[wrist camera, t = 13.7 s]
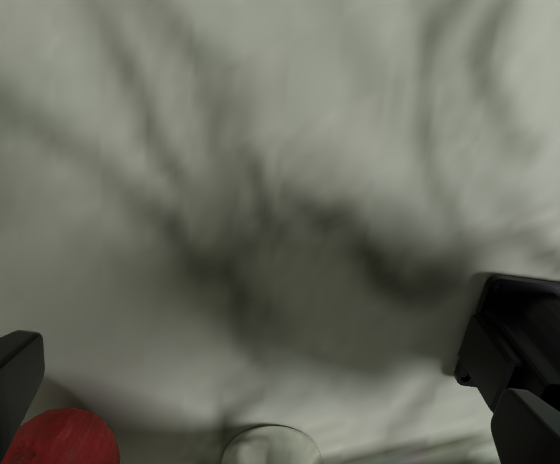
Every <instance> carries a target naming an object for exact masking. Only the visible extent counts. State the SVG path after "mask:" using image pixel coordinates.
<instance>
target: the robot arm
mask: <svg viewBox="0 0 560 464" xmlns="http://www.w3.org/2000/svg"><path fill="white" fill-rule="evenodd" d="M498 283H501V285H500V286H499V287H498V288H494V286H495V285H496V284H498ZM458 355H459V360H458V363H457V366H456V369H455V371H454V376H455V379H456V381H457V382H458V383H459V384H460V385H463V386H470V387H477V388H478V390H479V392H480V393H481V395H482V397H483V398H484V400H485V402H486V404H487V405H488V407H489V408H490V410H491V411H492V412H493V413H494V414H493V417H492V420H491V432H492V436H493V439H494V442H495V446H496V449H497V452H498V456H499V459H500V462H501V464H560V283H556V282H549V281H541V280H533V279H526V278H518V277H511V276H503V275H494V276H491V277H490V278H489V279H488V280H487V281H486V283H485V286H484V289H483V292H482V295H481V298H480V301H479V303H478V306H477V309H476V312H475V313H474V314H473V315H472V316H471V319H470V322H469V325H468V327H467V330H466V333H465V336H464V339H463V342H462V345H461V347H460V350H459V353H458ZM44 371H45V363H44V347H43V338H42V335H41V334H40V333H38V332H32V331H24V330H17V331H14V332H12V333H10V334H8V335H5V336H3V337H1V338H0V464H1V462H2V460H3V459H4V457H5V455H6V453H7V451H8V449H9V447H10V445H11V443H12V441H13V439H14V437H15V435H16V433H17V431H18V429H19V427H20V425H21V423H22V421H23V419H24V417H25V415H26V413H27V410H28V408H29V406H30V404H31V402H32V400H33V398H34V396H35V394H36V392H37V390H38V388H39V386H40V384H41V382H42V379H43V376H44ZM465 374H467V376H465V377H462V376H463V375H465Z"/></svg>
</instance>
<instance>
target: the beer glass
mask: <svg viewBox="0 0 560 464" xmlns="http://www.w3.org/2000/svg"><path fill="white" fill-rule="evenodd" d="M221 464H324V463H323V458H322V455H321V452H320V450H319V448H318V446H317V445H316V444H315V443H314V442H313V441H312V440H311V439H310V438H309V437H308V436H306V435H305V434H303V433H301V432H299V431H297V430H294V429H291V428H288V427H283V426H261V427H256V428H253V429H250V430H247V431H245V432H243V433H241V434H240V435H238V436H237V437H235V438H234V439H233V440H232V441H231V442H230V443H229V445H228V446H227V448H226V449H225V451H224V454H223V457H222V463H221Z"/></svg>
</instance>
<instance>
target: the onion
mask: <svg viewBox="0 0 560 464" xmlns="http://www.w3.org/2000/svg"><path fill="white" fill-rule="evenodd" d="M119 463H120V454H119V450H118V446H117V442H116V439H115V436H114V433H113V432H112V431H111V429H110V428H109V427H108V425H107V424H106V423H105V422H104V421H103V419H102V418H100V417H99V416H97V415H95V414H93V413H92V412H90V411H87V410H82V409H77V408H63V409H55V410H48V411H46V412H44V413H42V414H40V415H38V416H36V417H34V418H33V419H31V420H29V421H28V422H26V423H25V424H23V425H21V426H20V427H19V429H18V431H17V433H16V435H15V437H14V439H13V441H12V443H11V445H10V447H9V449H8V451H7V453H6V455H5V457H4V459H3V460H2V462H1V464H119Z"/></svg>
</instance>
